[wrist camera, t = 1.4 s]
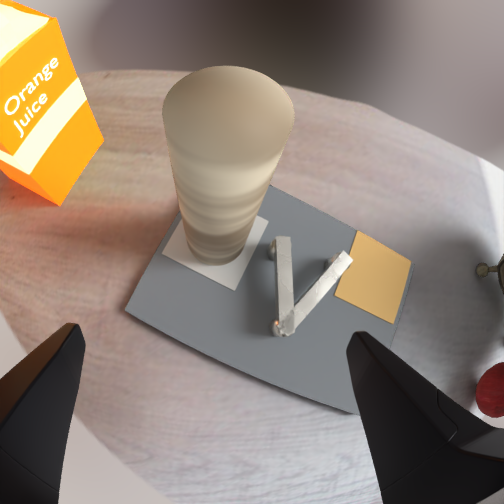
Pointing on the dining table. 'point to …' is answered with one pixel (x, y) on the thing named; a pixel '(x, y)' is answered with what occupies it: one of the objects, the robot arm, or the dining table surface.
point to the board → (263, 299)
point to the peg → (224, 153)
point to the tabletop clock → (483, 271)
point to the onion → (491, 391)
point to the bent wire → (285, 307)
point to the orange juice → (41, 105)
